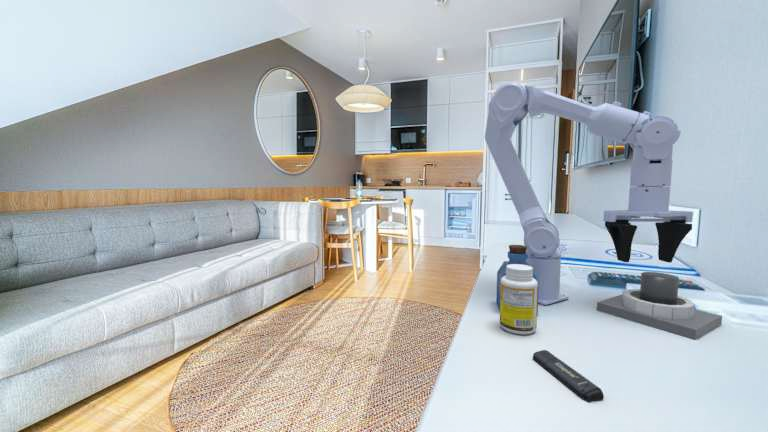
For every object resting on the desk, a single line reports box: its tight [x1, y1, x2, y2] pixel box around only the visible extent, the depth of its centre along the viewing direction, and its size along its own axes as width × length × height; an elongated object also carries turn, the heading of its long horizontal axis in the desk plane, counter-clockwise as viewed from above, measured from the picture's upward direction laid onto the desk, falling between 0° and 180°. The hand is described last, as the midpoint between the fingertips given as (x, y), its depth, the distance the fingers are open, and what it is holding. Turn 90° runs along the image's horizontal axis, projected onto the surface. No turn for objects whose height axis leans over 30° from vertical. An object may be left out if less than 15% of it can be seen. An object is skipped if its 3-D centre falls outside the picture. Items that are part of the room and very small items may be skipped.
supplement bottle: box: [499, 264, 538, 336], centre depth 53 cm, size 6×6×10 cm
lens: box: [639, 271, 680, 305], centre depth 58 cm, size 5×5×6 cm
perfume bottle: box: [495, 244, 539, 318], centre depth 62 cm, size 6×6×12 cm
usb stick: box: [532, 349, 605, 403], centre depth 40 cm, size 10×3×2 cm, turn 10°
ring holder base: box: [596, 288, 723, 341], centre depth 58 cm, size 14×11×4 cm
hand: (644, 261), depth 60 cm, fingers open, 7 cm apart
